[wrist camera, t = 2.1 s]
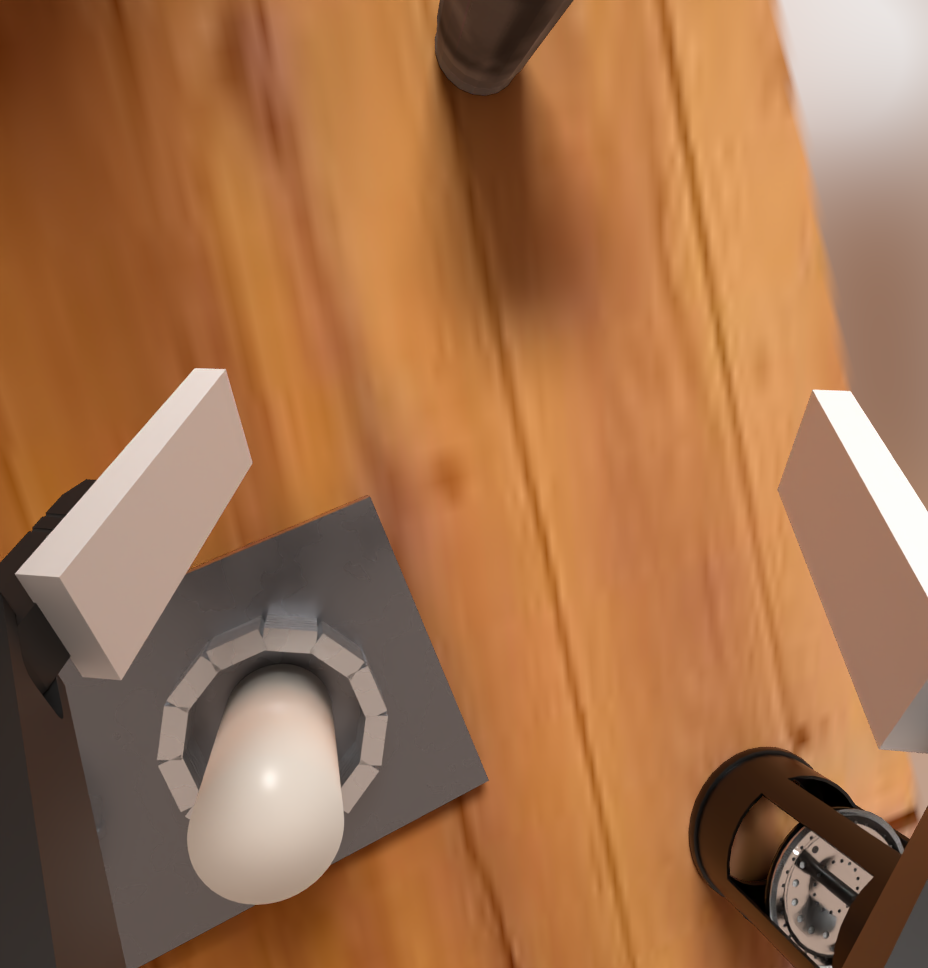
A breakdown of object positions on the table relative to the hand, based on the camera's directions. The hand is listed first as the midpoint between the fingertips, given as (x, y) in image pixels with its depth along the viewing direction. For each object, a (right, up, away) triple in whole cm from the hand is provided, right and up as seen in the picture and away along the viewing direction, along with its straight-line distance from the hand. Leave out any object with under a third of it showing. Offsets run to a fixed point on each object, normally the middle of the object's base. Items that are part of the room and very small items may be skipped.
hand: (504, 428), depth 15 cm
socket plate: (-16, -15, +16) cm, 28 cm away
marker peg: (-10, -12, +16) cm, 23 cm away
